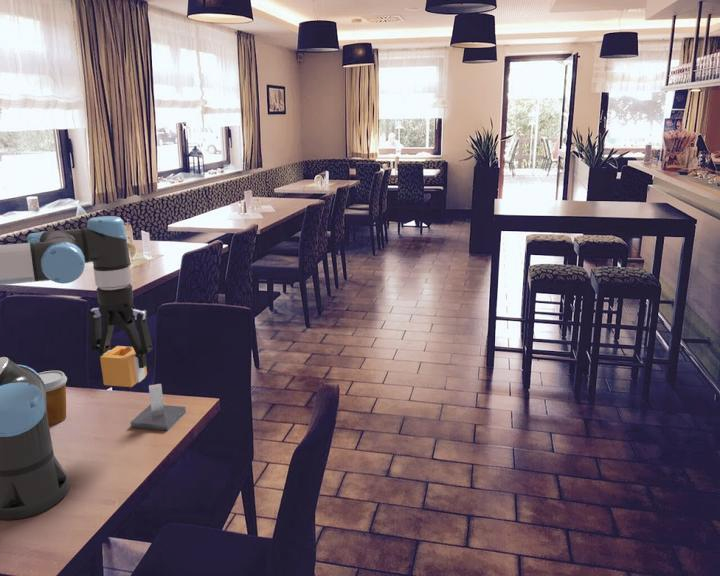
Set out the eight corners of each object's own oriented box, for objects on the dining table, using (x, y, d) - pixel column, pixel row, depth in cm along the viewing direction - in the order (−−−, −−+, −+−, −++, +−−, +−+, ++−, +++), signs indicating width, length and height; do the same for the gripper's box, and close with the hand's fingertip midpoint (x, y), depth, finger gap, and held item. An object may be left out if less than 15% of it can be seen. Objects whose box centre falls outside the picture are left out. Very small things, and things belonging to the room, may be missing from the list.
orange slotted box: (131, 387, 138) (127, 358, 136) (103, 385, 139) (99, 356, 137) (147, 374, 144) (143, 346, 143) (120, 372, 146) (117, 345, 144)
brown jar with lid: (80, 412, 160) (74, 370, 157) (57, 430, 151) (50, 386, 148) (49, 409, 162) (41, 368, 158) (24, 427, 153) (15, 384, 149)
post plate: (167, 430, 150) (163, 396, 147) (131, 427, 152) (126, 393, 149) (185, 411, 159) (182, 379, 157) (151, 409, 161) (147, 376, 159)
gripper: (162, 282, 137) (172, 375, 144) (84, 279, 141) (97, 369, 147) (145, 291, 130) (156, 388, 136) (63, 288, 134) (78, 382, 140)
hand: (125, 378), depth 142 cm, fingers closed on orange slotted box, 7 cm apart
